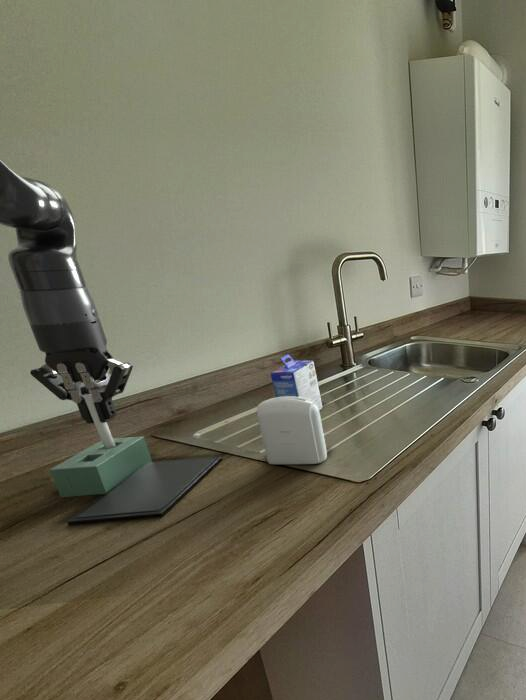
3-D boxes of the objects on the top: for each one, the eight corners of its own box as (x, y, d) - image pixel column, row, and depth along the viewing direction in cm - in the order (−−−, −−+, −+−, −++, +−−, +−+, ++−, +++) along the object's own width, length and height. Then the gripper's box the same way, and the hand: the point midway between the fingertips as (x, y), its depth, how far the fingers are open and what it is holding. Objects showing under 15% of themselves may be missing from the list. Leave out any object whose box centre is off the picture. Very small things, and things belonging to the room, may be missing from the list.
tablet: (68, 525, 58) (66, 521, 57) (149, 465, 74) (148, 461, 73) (162, 517, 59) (161, 512, 59) (222, 460, 75) (221, 456, 75)
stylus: (109, 467, 71) (80, 396, 66) (115, 463, 72) (87, 392, 67) (118, 466, 71) (90, 395, 66) (124, 462, 72) (97, 392, 67)
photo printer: (263, 466, 73) (249, 401, 69) (277, 454, 77) (264, 393, 73) (320, 466, 73) (309, 401, 69) (331, 454, 77) (321, 393, 73)
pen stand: (60, 497, 64) (48, 469, 63) (113, 463, 74) (104, 438, 73) (106, 493, 65) (96, 466, 64) (152, 460, 75) (144, 436, 74)
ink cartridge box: (300, 408, 99) (289, 350, 95) (323, 408, 99) (313, 350, 95) (279, 425, 90) (266, 361, 85) (305, 424, 90) (293, 361, 85)
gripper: (-13, 324, 59) (33, 433, 64) (95, 321, 61) (131, 427, 66) (36, 316, 66) (74, 415, 71) (131, 313, 68) (161, 410, 73)
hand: (101, 420), depth 69 cm, fingers closed on stylus, 1 cm apart
